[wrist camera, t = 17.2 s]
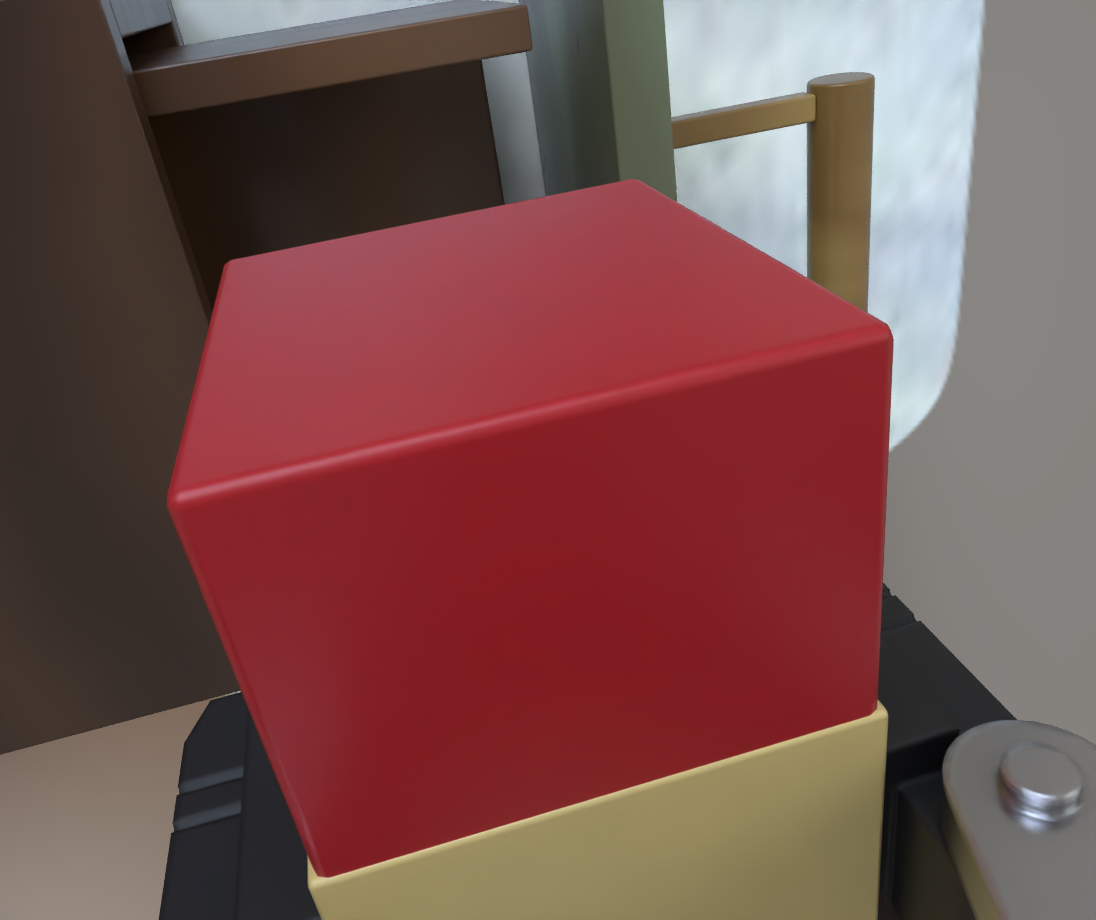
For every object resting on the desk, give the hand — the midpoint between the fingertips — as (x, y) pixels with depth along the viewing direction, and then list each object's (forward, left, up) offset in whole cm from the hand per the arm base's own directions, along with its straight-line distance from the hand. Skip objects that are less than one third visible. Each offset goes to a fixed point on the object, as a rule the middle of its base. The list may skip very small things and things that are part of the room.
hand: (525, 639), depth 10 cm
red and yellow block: (0, 0, -1) cm, 1 cm away
